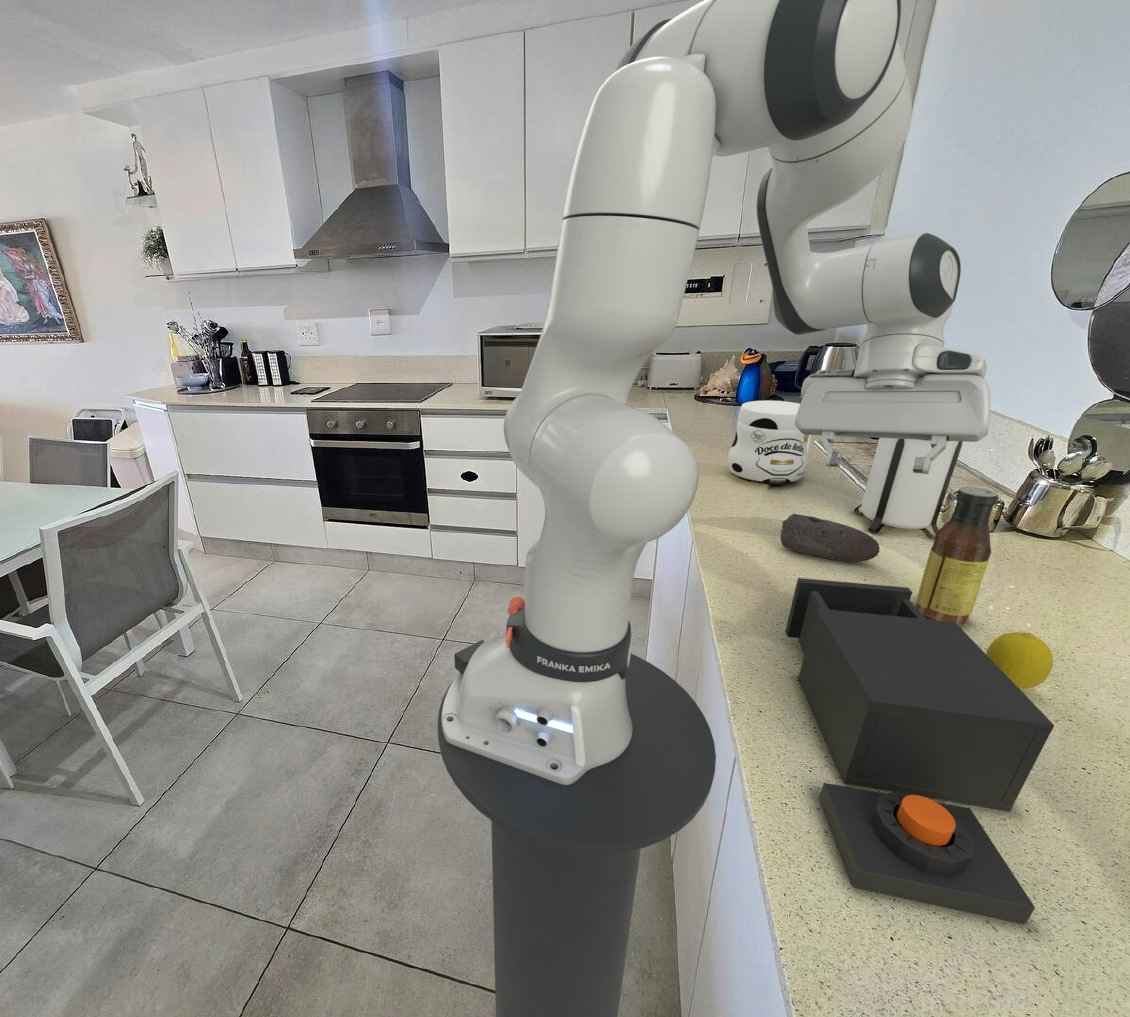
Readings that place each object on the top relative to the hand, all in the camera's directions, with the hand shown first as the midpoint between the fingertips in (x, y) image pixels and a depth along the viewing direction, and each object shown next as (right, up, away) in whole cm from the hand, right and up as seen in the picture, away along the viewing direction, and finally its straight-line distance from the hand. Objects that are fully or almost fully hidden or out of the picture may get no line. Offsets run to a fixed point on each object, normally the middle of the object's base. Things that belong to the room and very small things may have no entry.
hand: (874, 469), depth 72 cm
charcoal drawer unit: (-7, -31, -11) cm, 34 cm away
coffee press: (+33, -8, +38) cm, 51 cm away
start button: (-15, -33, -24) cm, 44 cm away
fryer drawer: (-4, -26, -1) cm, 26 cm away
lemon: (+13, -28, -5) cm, 31 cm away
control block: (-15, -37, -23) cm, 46 cm away
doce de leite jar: (+22, +2, +64) cm, 68 cm away
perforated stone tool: (+12, -14, +27) cm, 33 cm away
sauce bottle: (+17, -21, +9) cm, 29 cm away
